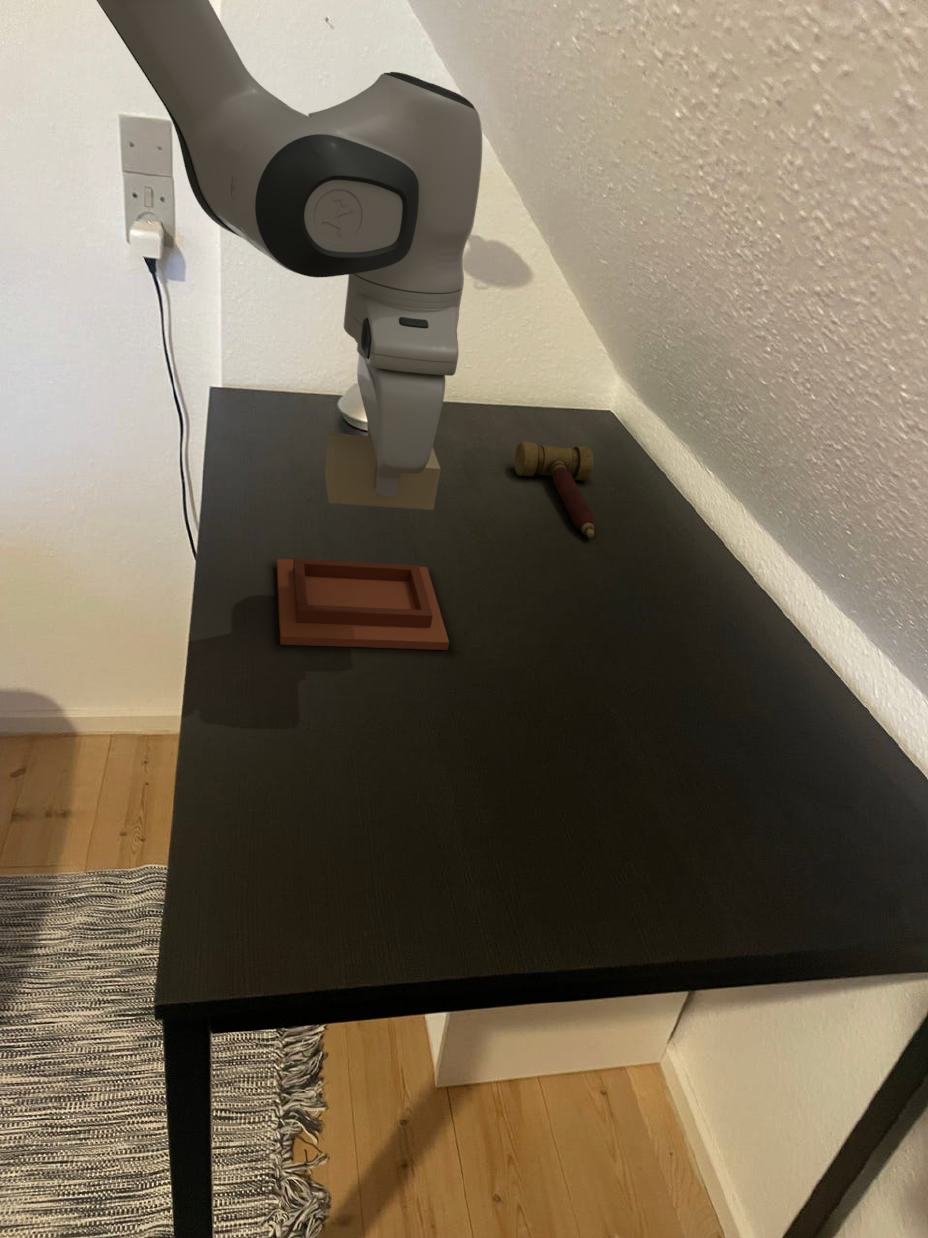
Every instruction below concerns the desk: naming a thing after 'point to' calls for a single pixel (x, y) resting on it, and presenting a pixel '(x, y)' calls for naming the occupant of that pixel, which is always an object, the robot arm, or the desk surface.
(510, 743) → the desk surface
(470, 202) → the robot arm
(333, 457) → the top pad
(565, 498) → the gavel
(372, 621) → the base pad
